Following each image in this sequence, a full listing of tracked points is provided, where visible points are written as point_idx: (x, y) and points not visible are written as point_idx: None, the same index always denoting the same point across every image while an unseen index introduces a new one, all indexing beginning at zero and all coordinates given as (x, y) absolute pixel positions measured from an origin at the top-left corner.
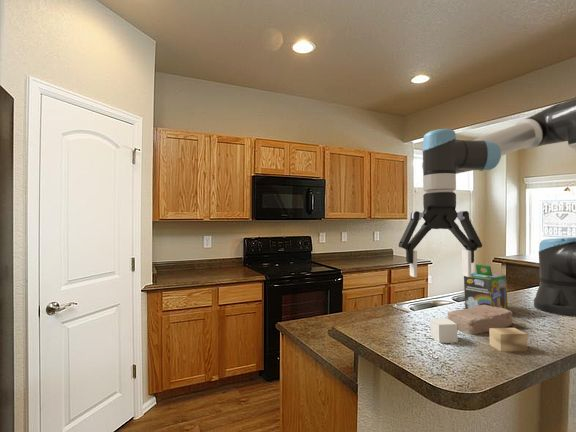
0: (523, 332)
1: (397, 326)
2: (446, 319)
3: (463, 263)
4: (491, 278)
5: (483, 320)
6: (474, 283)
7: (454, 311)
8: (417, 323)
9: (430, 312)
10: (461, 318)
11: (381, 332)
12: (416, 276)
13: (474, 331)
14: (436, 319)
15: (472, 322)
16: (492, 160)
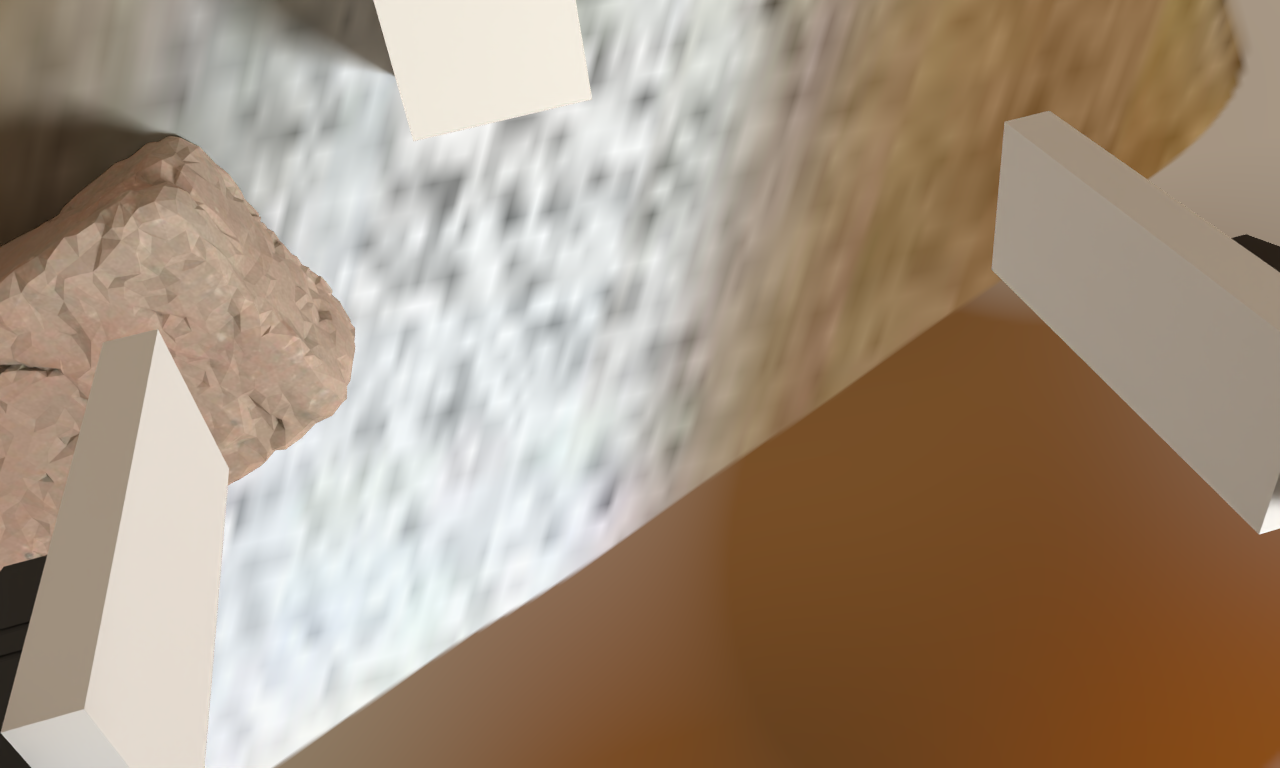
0: None
1: (767, 232)
2: (434, 103)
3: (198, 589)
4: None
5: (18, 266)
6: None
7: (275, 437)
8: (586, 334)
9: (415, 604)
10: (241, 277)
11: (936, 65)
12: (1020, 126)
13: (137, 162)
14: (536, 89)
15: (148, 189)
16: None
